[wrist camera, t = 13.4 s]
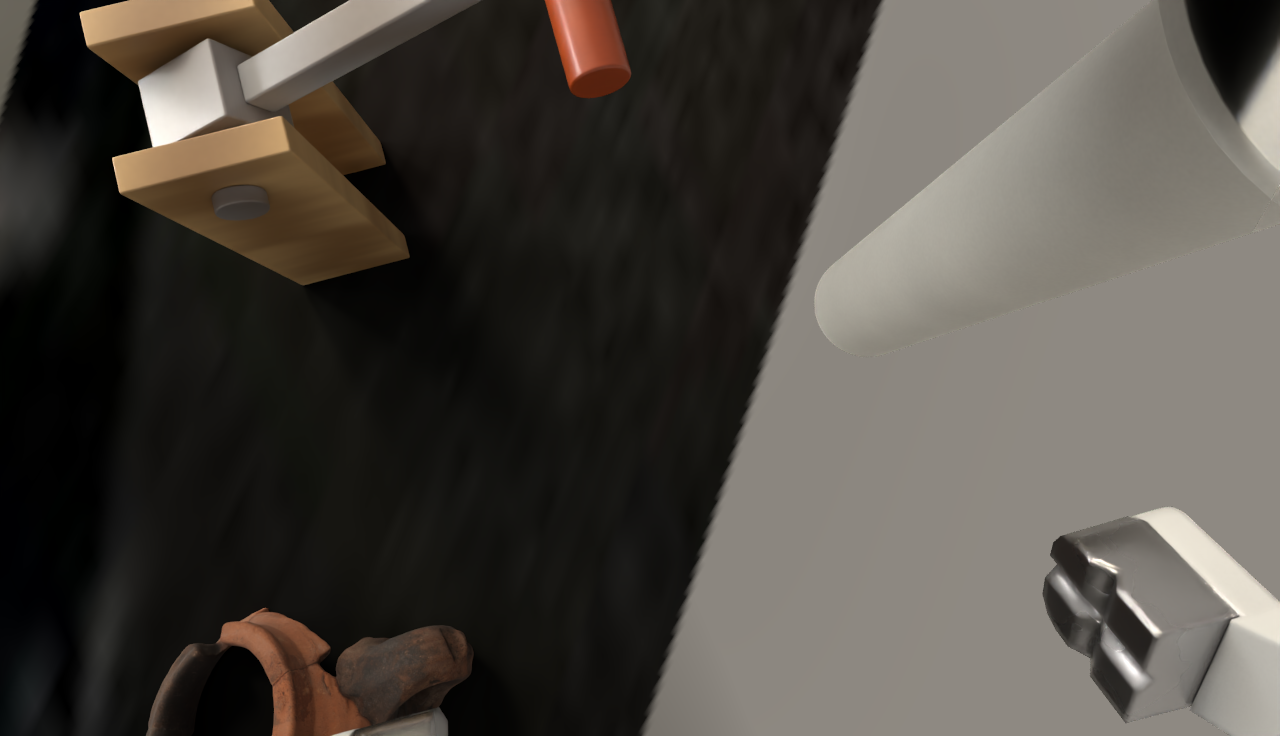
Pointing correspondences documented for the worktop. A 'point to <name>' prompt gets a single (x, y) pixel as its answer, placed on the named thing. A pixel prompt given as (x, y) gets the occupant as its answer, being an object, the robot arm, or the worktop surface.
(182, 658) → the pottery mug
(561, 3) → the lever
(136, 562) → the worktop surface
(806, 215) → the worktop surface
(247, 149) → the bracket
